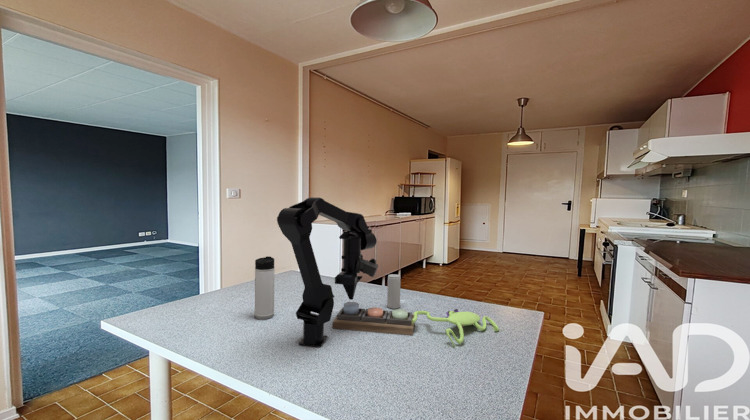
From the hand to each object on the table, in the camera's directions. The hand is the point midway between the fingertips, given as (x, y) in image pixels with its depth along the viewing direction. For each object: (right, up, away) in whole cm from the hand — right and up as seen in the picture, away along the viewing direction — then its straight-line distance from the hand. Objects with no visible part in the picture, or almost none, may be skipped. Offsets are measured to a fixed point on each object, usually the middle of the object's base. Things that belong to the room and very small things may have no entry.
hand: (351, 299), depth 107 cm
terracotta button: (+8, -6, -1) cm, 10 cm away
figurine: (+33, -9, -4) cm, 34 cm away
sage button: (+16, -6, -2) cm, 17 cm away
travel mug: (-30, -7, +4) cm, 31 cm away
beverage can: (+15, -8, +16) cm, 23 cm away
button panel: (+8, -8, -1) cm, 11 cm away
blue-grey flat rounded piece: (0, -4, 0) cm, 4 cm away
